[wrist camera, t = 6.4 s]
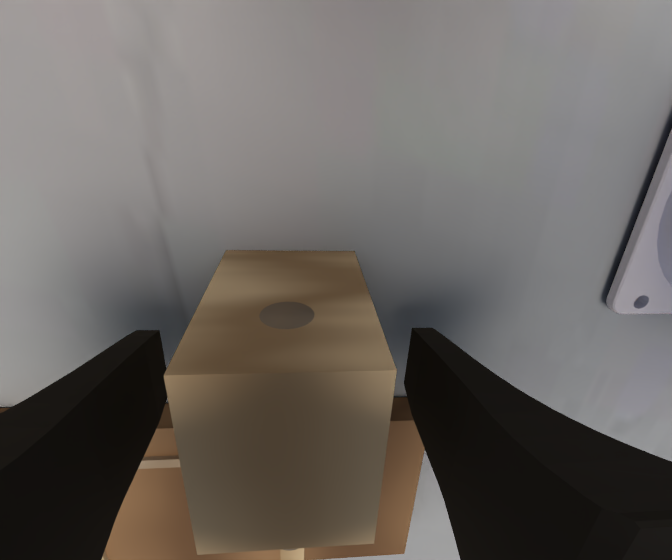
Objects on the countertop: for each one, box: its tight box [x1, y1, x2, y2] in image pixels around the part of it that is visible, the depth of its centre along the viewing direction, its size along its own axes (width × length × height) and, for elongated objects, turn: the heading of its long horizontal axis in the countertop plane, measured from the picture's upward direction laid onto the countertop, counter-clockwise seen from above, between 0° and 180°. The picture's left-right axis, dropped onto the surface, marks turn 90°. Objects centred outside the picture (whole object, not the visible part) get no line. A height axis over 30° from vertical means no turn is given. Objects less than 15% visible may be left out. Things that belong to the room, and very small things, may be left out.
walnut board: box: [0, 397, 425, 560], centre depth 15 cm, size 16×8×1 cm, turn 88°
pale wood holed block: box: [164, 250, 397, 555], centre depth 11 cm, size 4×8×6 cm, turn 178°
